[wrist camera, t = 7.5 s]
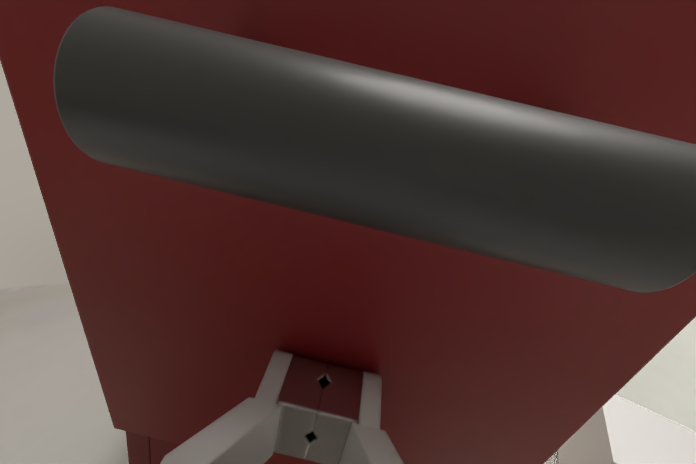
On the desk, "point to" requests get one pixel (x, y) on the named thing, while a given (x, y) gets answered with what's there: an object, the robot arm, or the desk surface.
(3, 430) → the desk surface
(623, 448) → the white cube
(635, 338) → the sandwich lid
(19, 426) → the desk surface
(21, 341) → the desk surface
